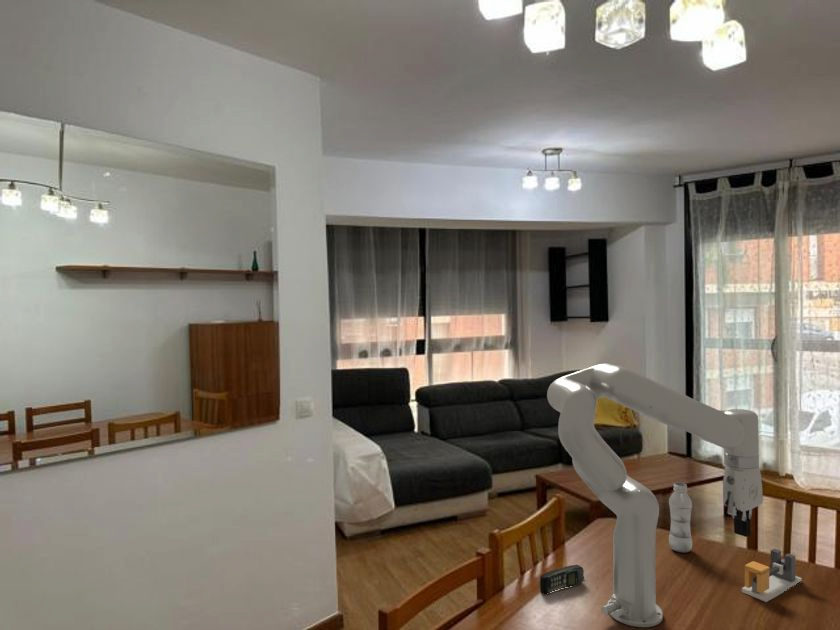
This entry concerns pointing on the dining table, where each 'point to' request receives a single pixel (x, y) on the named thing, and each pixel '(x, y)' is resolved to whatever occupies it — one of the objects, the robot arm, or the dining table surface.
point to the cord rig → (776, 577)
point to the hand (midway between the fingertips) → (742, 534)
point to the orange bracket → (761, 573)
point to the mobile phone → (561, 578)
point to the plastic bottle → (680, 519)
